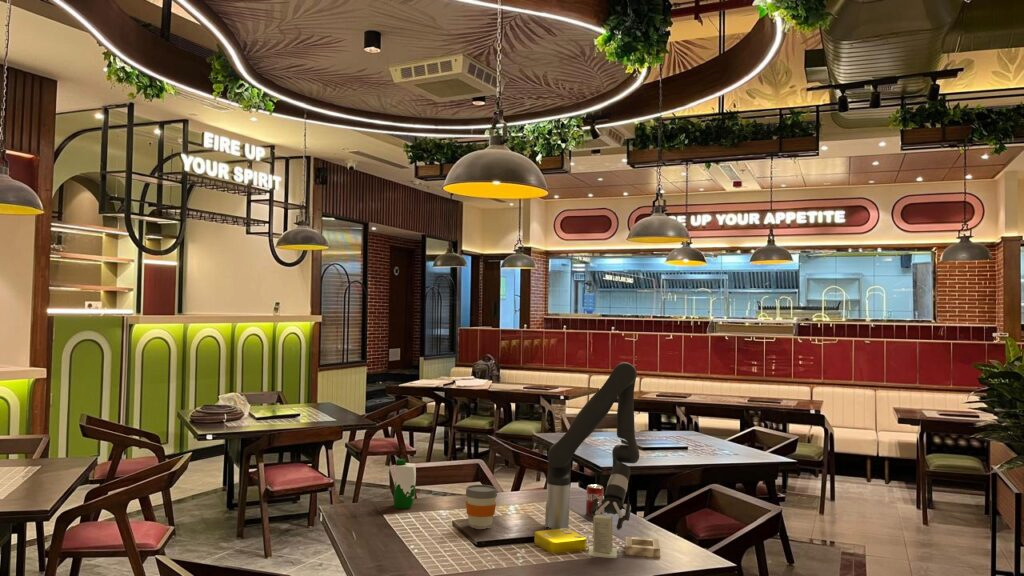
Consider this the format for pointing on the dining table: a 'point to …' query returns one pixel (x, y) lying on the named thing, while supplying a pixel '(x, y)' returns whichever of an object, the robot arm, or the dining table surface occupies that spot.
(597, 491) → the soda can
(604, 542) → the skincare box
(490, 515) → the reusable coffee cup
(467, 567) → the dining table surface
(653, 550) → the pocket block
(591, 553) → the coaster
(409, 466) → the milk carton
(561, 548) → the element tile
